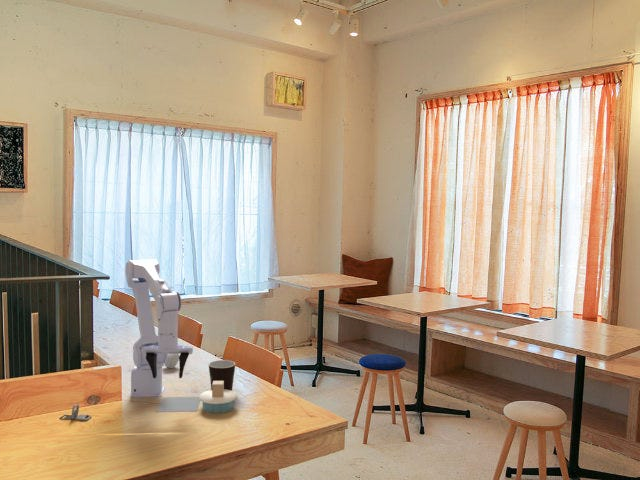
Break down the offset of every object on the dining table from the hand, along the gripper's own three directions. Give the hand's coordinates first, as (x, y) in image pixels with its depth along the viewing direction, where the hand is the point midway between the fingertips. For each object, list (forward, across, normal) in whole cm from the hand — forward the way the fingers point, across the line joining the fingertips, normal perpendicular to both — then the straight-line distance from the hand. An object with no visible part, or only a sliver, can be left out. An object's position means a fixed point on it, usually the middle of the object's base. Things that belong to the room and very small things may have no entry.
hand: (167, 377), depth 167 cm
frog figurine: (+10, -6, +41) cm, 43 cm away
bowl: (+10, +15, 0) cm, 18 cm away
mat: (+10, +3, +3) cm, 11 cm away
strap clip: (+10, -25, -6) cm, 28 cm away
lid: (+6, +15, 0) cm, 16 cm away
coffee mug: (+10, +16, +14) cm, 23 cm away
